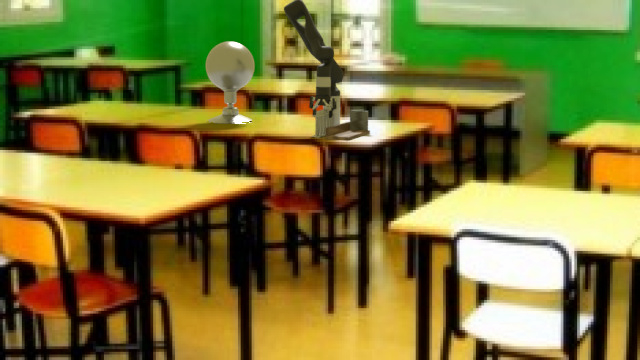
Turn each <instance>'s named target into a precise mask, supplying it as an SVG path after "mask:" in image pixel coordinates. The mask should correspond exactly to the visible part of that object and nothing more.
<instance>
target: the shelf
mask: <svg viewBox="0 0 640 360" xmlns="http://www.w3.org/2000/svg"><path fill="white" fill-rule="evenodd" d="M368 134H371V131H370V130H369V110H353V109H351V110H350V111H349V121H346V122H342V123H340V124H338V125H334V126H331V127H327V128H326V136H325V140H336V141H337V140H339V141H350V140H353V139H357V138H360V137H362V136H366V135H368Z"/></svg>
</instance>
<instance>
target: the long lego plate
mask: <svg viewBox="0 0 640 360" xmlns="http://www.w3.org/2000/svg"><path fill="white" fill-rule="evenodd" d="M329 111H330V110H329V109H328V108H327V109H319V110H317V111H316V115H313V114H312V115H311V117H312V118H315V130H314V131H315V135H314V134H313V135H311V136H310V138H311V137H315V139H320V138H323V137H326V128H327V127H331V126H333V116H332V118H329ZM333 113H336V112H334V111H333Z"/></svg>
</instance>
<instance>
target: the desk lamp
mask: <svg viewBox="0 0 640 360" xmlns="http://www.w3.org/2000/svg"><path fill="white" fill-rule="evenodd" d="M255 65H256V64H255V60H254V56H253V54H252V52H250V50H249V49H248V48H247V47H246V46H245V45H243V44H241V43H239V42H236V41H223V42H220V43H219V44H217V45H215V46H214V47H213V48H212V49H211V50H210V51H209V53H208V55H207V57H206V60H205V71H206V72H205V73H206V74H207V77H208V79H209V80H210V81H211V83H212V84H213V85H215V86H216V87H217V88H219V89H221V91H223V95H224V96H223V98H224V104H226V105H227V106H225V107H223V108H222V113H221V114H219V115H217V116H214V117H211V118H209V119H207V120H208V121H209V122H208V123H211V122H213V123H214V124H229V123H230V124H243V123H242V122H249V121H252V119H253V118H249V117H247V116H244V115H242V114H240V112H239V111H240V110H239V108H238V107H235V106H234V105H235V104H237V102H238V101H237V92H238V91H239V90H240V89H241V88H243V87H245V86H247V84H249V83H250V82H251V80H252V78H253V76H254V72H255ZM213 123H212V124H213ZM249 123H250V122H249Z"/></svg>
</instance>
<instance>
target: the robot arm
mask: <svg viewBox="0 0 640 360" xmlns="http://www.w3.org/2000/svg"><path fill="white" fill-rule="evenodd" d="M283 11H284V14H285V16H286V17H287V18H288V20H289V21H290V23H291V24H292V26H293V27H294V28H295V30H296V32H297V34H298V35H299V36H300V38H301V41H302V42H303V44H304V46H305V47H306V49H307V50H308V52H309V53H310V55H311V56H312V57H313V58H314V59H316V60H317V61H318V62H319V63H321V64H318V65H317V67H316V79H315V96H313V95H312V96H310V97H309V102H308V103H309V105H308V107H309V109H311V110H312V116H313V115H316V111H318V110H317V109H318V108H319V106H322V108H323V109H327V108H328V109H329V110H330V111H329V118H332V116H333V126H334V125H338V124H341V90H340V89H339V88H338V87H337V84H339V83H342V81H343V79H344V71H343V69H342V68H341V66H340V65H339V64H338V62H337V61H336V60H335V50H334V48H333V47H332V46H330V45H329V46H328V45H326V43H325V42H324V38H323V37H322V34H321V33H320V32H319V30H318V29H317V26H316V25H315V22H314V20H313V18H312V15H311V14H310V11H309V9H308V7H307V6H306V4H305V2H304V1H303V0H293V1H291V2H289V3H288V4H286V5H285V6H284V7H283ZM303 17H304V21H305V24H304V25H303V24H302V23H301V22H299V21H298V20H299V19H301V18H303ZM315 101H316V102H315ZM323 109H322V110H323ZM333 111H334V112H336V113H333Z"/></svg>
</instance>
